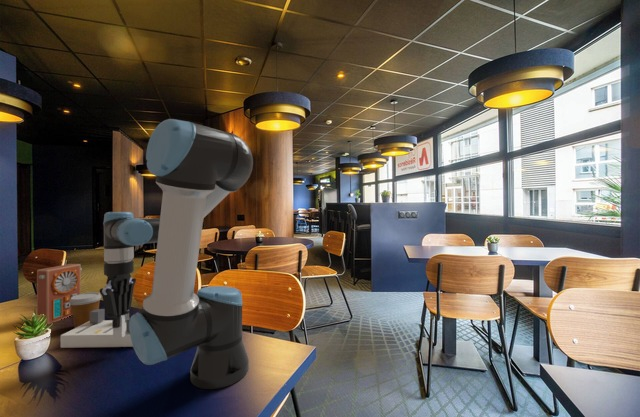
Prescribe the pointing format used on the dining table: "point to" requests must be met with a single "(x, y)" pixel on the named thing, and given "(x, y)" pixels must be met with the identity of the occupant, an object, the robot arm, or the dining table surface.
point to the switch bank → (95, 336)
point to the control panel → (57, 290)
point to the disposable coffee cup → (84, 307)
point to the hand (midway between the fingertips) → (119, 336)
